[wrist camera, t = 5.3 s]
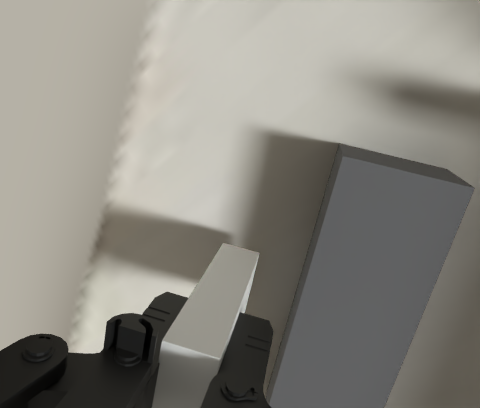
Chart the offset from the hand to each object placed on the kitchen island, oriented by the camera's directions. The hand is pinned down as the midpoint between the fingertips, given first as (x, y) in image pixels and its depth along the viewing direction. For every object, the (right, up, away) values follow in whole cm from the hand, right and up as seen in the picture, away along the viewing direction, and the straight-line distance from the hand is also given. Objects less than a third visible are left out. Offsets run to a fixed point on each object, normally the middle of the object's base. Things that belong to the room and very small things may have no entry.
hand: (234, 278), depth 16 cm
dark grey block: (+5, -1, +1) cm, 5 cm away
